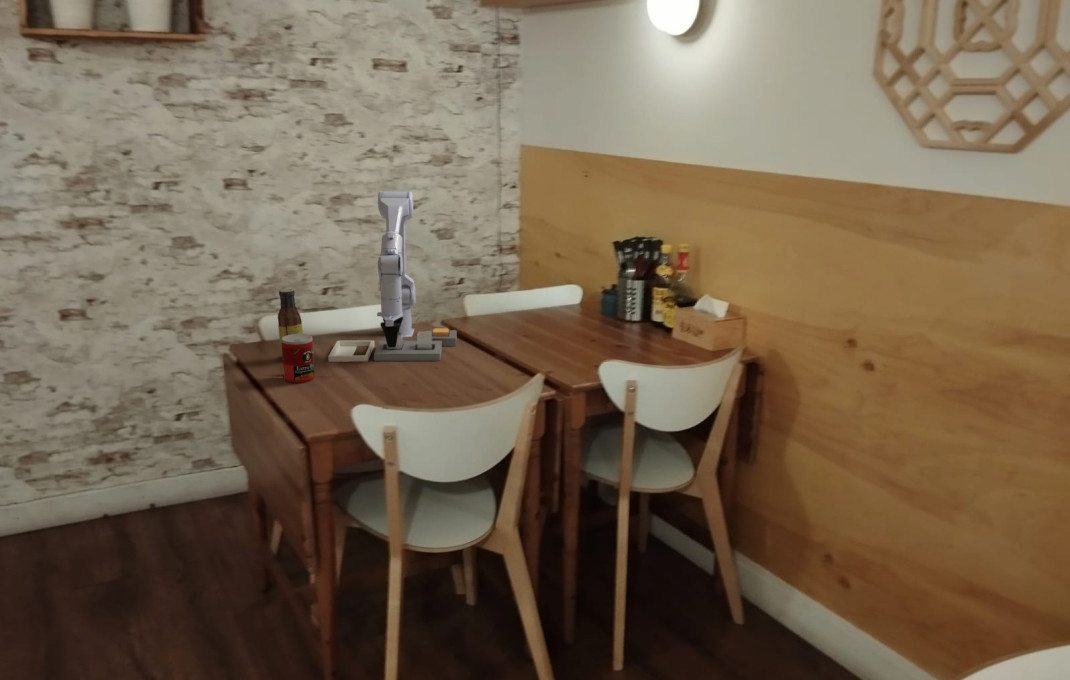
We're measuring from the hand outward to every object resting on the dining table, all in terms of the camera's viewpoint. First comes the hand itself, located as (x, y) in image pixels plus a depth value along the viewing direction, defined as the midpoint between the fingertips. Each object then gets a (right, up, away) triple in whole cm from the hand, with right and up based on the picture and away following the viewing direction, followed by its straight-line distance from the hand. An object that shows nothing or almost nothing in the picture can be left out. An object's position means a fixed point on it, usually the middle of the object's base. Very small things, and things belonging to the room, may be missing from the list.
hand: (392, 344), depth 235 cm
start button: (+12, +1, +13) cm, 18 cm away
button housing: (+12, 0, +13) cm, 18 cm away
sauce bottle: (-27, -4, -5) cm, 28 cm away
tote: (-12, -3, +1) cm, 12 cm away
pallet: (+4, -3, +1) cm, 6 cm away
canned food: (-21, -9, -20) cm, 30 cm away
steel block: (+1, -3, +1) cm, 3 cm away
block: (+9, -3, +1) cm, 9 cm away
